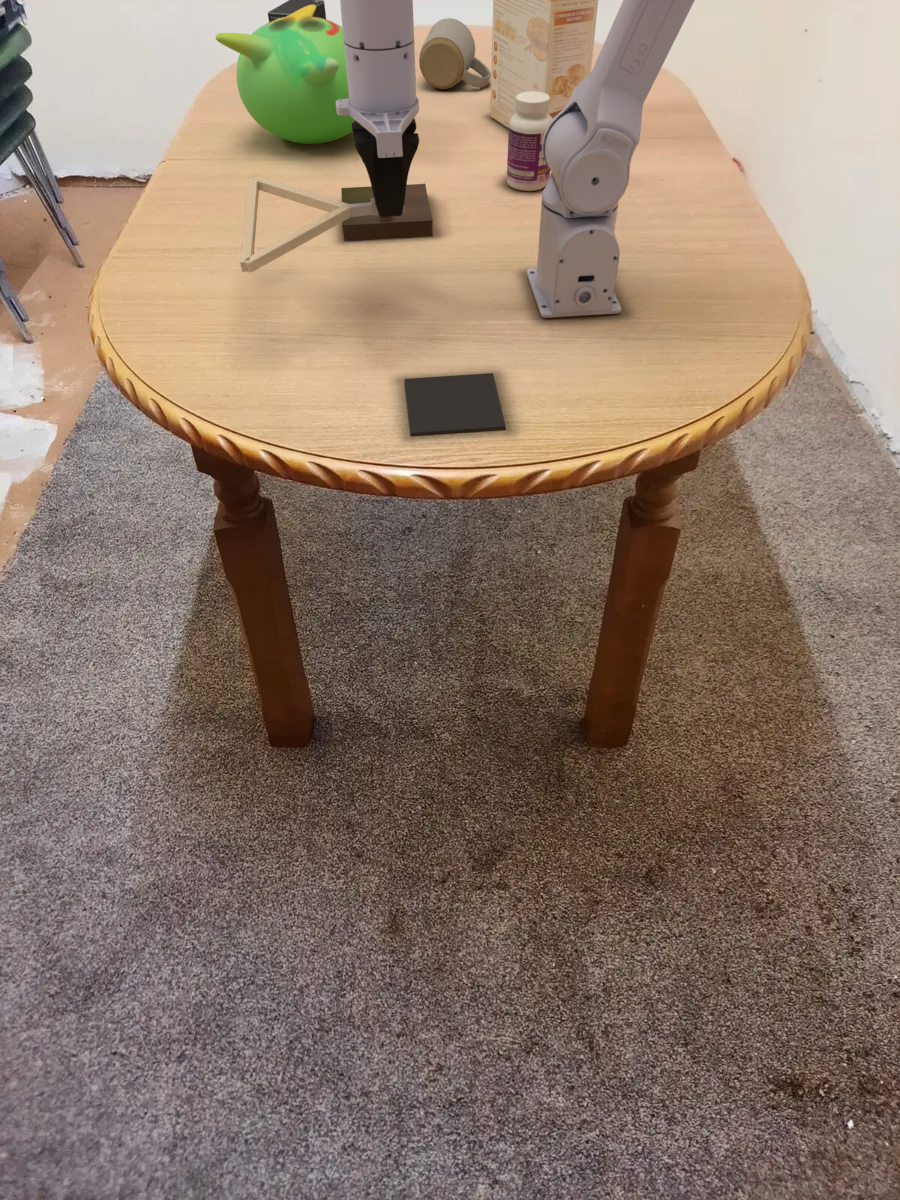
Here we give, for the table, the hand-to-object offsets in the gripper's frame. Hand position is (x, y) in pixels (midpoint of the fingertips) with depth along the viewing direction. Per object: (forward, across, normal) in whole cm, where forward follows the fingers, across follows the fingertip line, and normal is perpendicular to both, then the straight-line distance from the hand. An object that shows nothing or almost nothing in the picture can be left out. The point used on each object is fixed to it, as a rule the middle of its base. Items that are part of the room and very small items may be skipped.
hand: (389, 211), depth 77 cm
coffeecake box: (+9, -44, +23) cm, 51 cm away
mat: (+9, +19, +4) cm, 21 cm away
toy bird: (+9, -45, -8) cm, 47 cm away
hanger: (0, 0, -6) cm, 6 cm away
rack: (+9, -19, 0) cm, 21 cm away
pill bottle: (+9, -27, +19) cm, 34 cm away
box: (+9, -67, -9) cm, 68 cm away
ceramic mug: (+9, -66, +14) cm, 68 cm away
